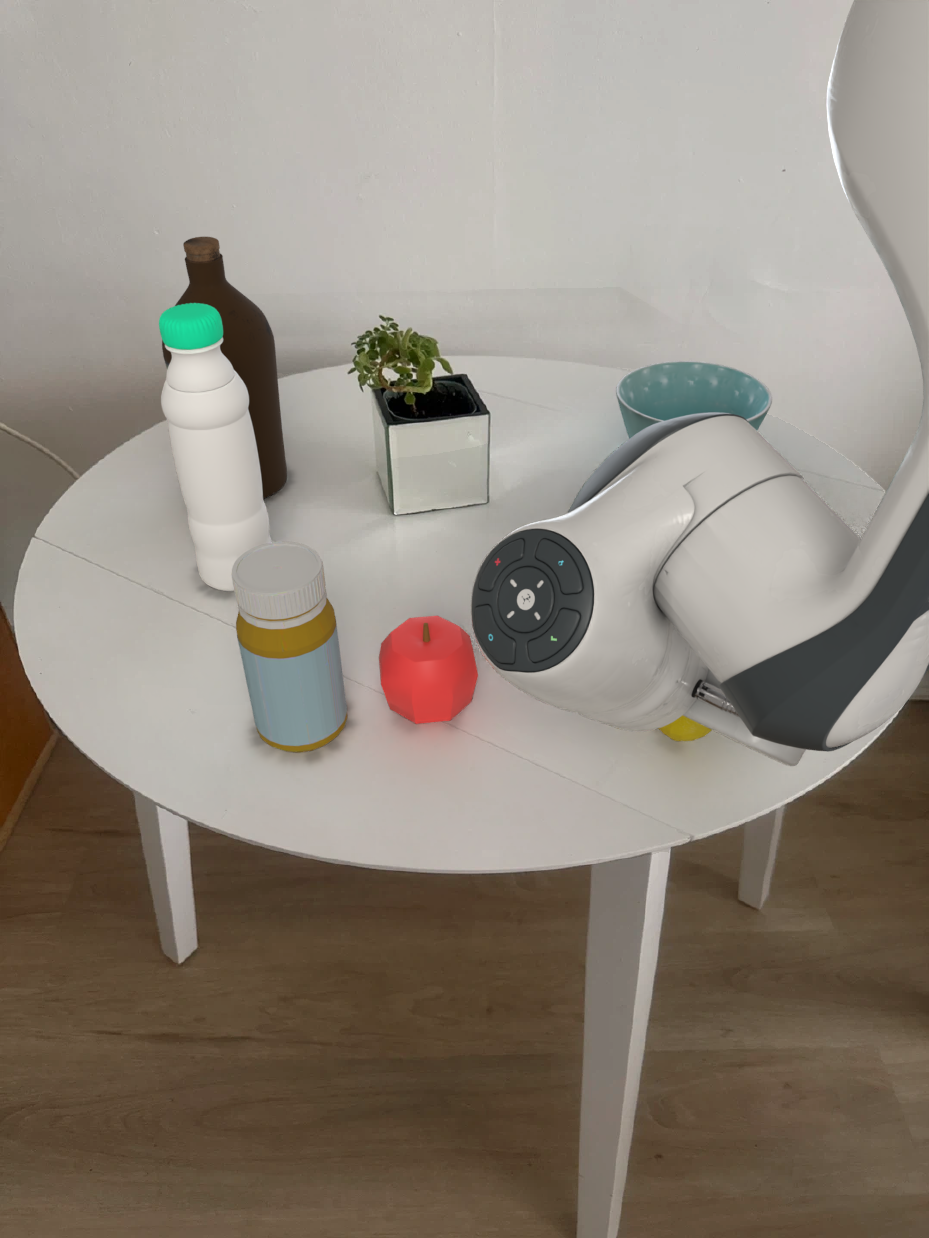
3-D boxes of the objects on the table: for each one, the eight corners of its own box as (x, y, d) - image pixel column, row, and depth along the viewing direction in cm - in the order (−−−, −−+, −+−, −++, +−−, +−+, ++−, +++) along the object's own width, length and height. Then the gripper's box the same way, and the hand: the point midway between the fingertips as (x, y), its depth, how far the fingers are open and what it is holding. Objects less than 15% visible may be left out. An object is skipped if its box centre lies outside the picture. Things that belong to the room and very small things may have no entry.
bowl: (583, 445, 111) (588, 375, 106) (701, 415, 116) (711, 348, 111) (663, 513, 99) (672, 440, 94) (789, 477, 105) (805, 406, 99)
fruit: (728, 757, 74) (746, 676, 69) (657, 769, 73) (670, 688, 68) (699, 706, 78) (714, 627, 73) (632, 717, 77) (642, 638, 72)
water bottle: (240, 604, 89) (187, 336, 73) (183, 579, 92) (121, 317, 76) (292, 565, 93) (253, 305, 78) (237, 542, 97) (188, 288, 81)
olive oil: (269, 447, 111) (234, 216, 96) (309, 489, 104) (278, 247, 89) (177, 473, 107) (125, 236, 91) (212, 519, 100) (162, 270, 84)
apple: (464, 747, 75) (463, 667, 70) (364, 728, 76) (356, 649, 71) (491, 678, 81) (491, 600, 76) (398, 662, 82) (392, 584, 77)
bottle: (364, 708, 78) (347, 551, 69) (317, 768, 73) (292, 608, 64) (289, 684, 81) (262, 528, 71) (239, 740, 76) (203, 582, 66)
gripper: (815, 681, 56) (847, 712, 68) (522, 552, 66) (594, 599, 78) (765, 783, 56) (805, 796, 68) (480, 637, 66) (559, 671, 78)
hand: (690, 689), depth 73 cm, fingers open, 7 cm apart
